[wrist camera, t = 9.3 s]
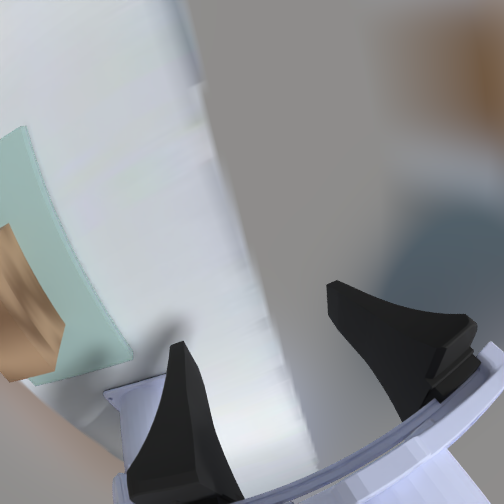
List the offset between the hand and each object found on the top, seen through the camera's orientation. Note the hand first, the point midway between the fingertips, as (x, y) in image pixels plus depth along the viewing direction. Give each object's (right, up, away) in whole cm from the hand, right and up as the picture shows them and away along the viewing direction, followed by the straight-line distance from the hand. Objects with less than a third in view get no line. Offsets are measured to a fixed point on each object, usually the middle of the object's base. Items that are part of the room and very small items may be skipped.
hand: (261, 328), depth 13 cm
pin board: (-18, +1, +3) cm, 19 cm away
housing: (-18, +1, +3) cm, 18 cm away
